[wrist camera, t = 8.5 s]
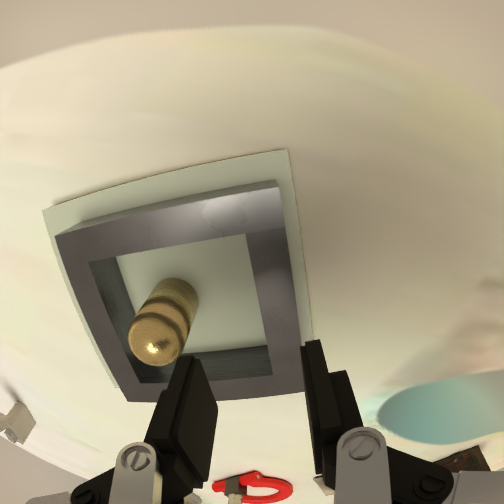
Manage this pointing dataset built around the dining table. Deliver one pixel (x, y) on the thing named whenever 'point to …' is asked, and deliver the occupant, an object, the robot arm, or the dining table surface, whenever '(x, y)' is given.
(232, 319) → the plate
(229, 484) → the tow hook
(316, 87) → the dining table surface
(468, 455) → the manual coffee grinder
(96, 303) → the square metal frame
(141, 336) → the post
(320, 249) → the dining table surface
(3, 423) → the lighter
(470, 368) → the dining table surface
